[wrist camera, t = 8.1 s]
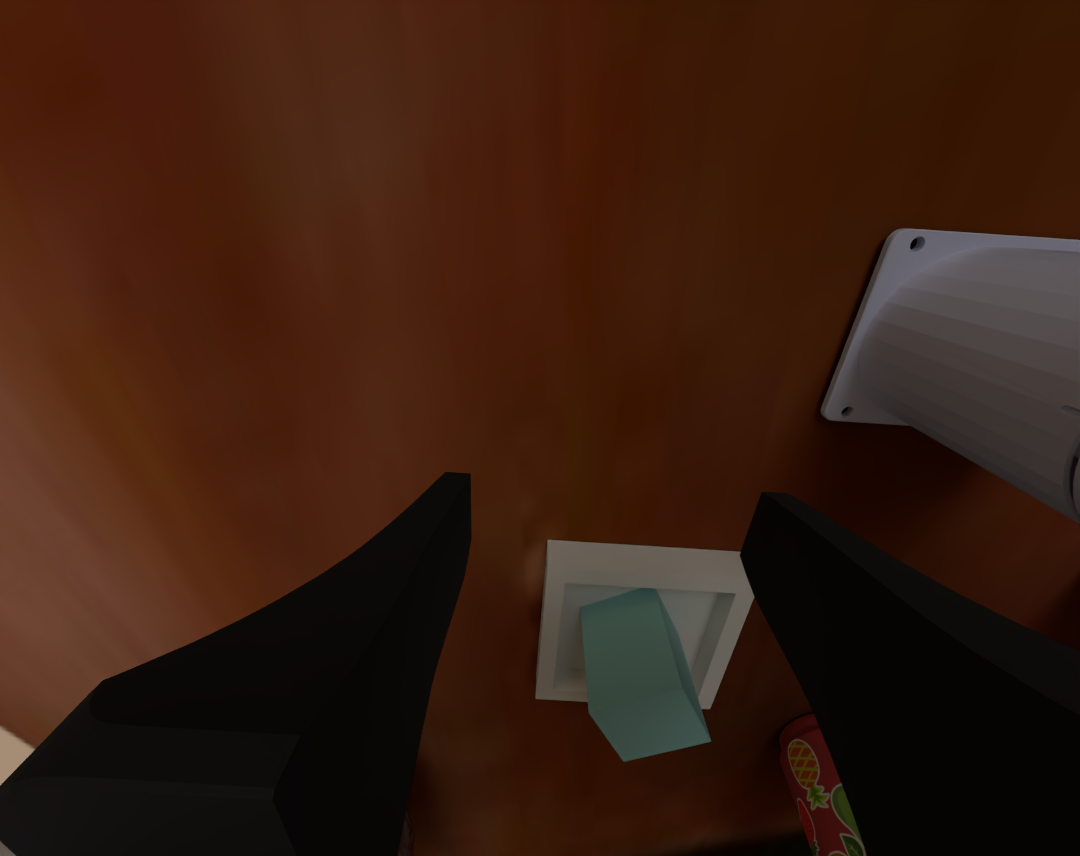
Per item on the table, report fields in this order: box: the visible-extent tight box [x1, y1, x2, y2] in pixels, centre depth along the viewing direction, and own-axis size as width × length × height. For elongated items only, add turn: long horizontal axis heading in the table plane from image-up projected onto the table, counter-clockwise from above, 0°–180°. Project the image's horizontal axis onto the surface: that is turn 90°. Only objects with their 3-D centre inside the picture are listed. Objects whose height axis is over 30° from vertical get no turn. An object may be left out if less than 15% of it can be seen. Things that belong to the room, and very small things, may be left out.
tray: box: [536, 540, 754, 709], centre depth 25 cm, size 11×11×2 cm
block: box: [581, 588, 711, 762], centre depth 23 cm, size 4×4×6 cm
